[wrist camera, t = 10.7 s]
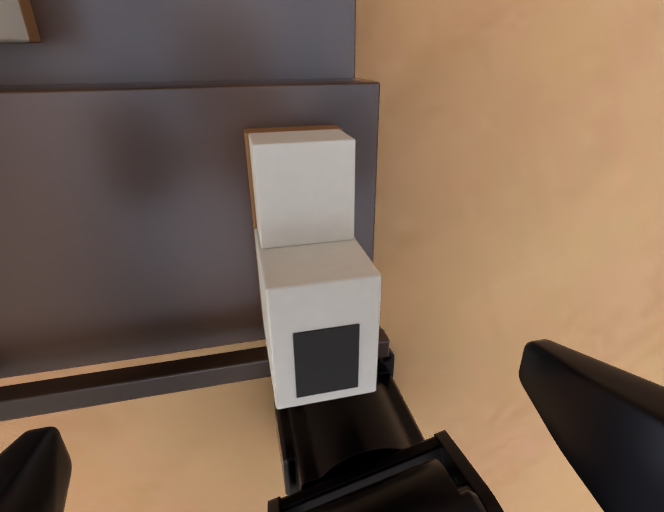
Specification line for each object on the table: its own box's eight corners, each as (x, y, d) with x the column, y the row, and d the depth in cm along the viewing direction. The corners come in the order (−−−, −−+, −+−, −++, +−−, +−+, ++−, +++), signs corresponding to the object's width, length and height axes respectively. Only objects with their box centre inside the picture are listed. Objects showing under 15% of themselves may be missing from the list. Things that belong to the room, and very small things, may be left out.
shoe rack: (349, -257, 13) (445, -496, 7) (345, 277, 21) (389, 357, 16) (-260, -346, 10) (-899, -877, 4) (16, 317, 18) (-76, 435, 13)
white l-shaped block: (336, 303, 17) (377, 394, 12) (261, 314, 16) (276, 412, 12) (335, 124, 14) (389, 158, 9) (243, 128, 13) (253, 166, 9)
